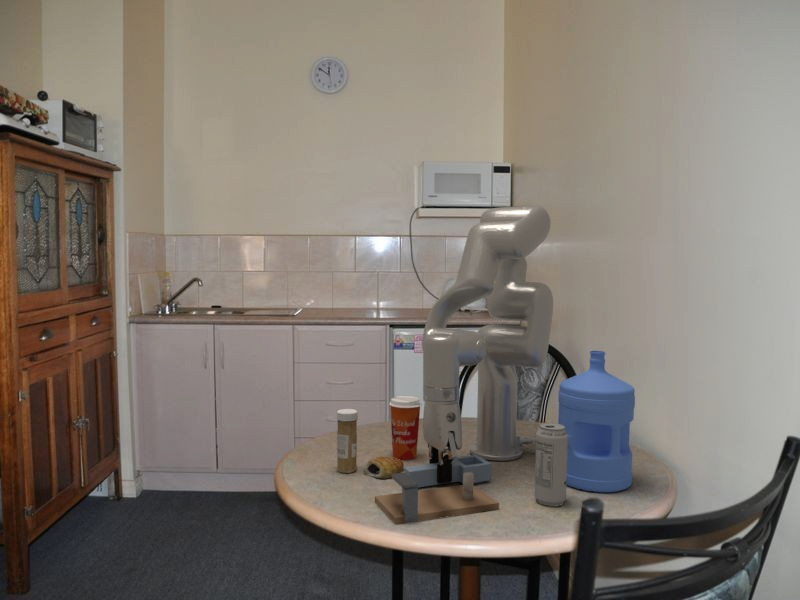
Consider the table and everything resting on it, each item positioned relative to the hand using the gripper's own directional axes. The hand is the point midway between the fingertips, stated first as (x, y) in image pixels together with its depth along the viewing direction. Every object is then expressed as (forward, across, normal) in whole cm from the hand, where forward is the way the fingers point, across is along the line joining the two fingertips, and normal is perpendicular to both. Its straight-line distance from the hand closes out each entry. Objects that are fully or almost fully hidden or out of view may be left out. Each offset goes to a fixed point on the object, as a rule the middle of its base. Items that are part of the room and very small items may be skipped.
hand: (440, 478), depth 134 cm
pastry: (+1, +10, +9) cm, 14 cm away
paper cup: (+2, +20, 0) cm, 20 cm away
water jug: (+2, -9, -32) cm, 33 cm away
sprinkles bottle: (+1, +15, +16) cm, 22 cm away
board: (+1, -11, +6) cm, 13 cm away
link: (0, 0, -1) cm, 1 cm away
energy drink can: (+1, -16, -16) cm, 23 cm away
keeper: (+1, -12, +14) cm, 18 cm away
